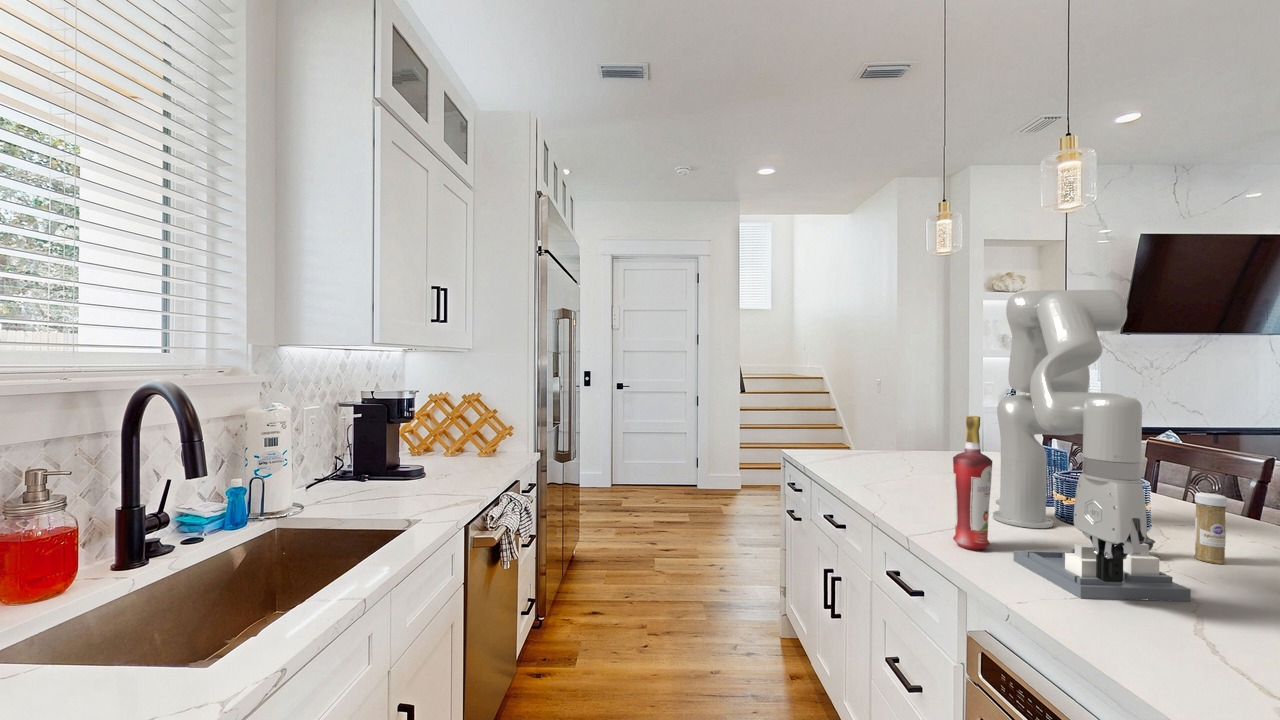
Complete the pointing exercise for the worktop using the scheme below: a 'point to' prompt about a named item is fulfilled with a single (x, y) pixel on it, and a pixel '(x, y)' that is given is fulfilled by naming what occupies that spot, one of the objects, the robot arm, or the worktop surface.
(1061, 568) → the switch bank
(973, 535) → the liquor
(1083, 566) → the tab
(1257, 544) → the worktop surface
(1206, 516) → the sprinkles bottle
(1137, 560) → the tab
